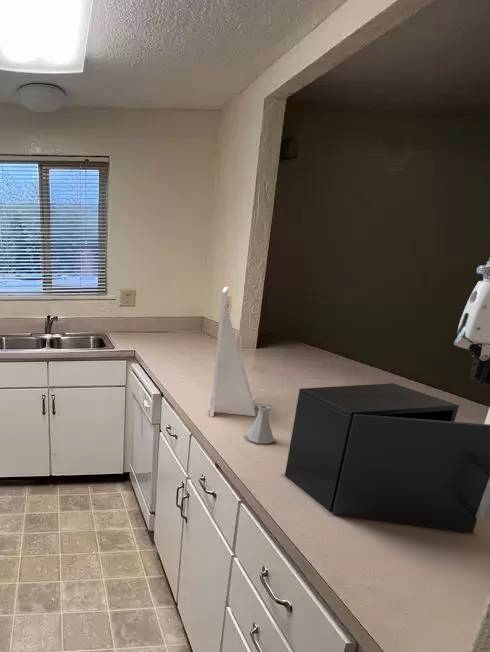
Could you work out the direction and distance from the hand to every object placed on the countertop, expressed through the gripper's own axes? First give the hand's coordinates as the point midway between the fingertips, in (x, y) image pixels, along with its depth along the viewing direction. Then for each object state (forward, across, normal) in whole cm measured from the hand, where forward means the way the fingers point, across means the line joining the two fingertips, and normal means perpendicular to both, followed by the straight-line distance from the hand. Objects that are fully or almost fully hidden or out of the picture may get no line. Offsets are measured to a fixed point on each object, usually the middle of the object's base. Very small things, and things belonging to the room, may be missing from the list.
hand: (481, 381), depth 76 cm
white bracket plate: (+29, -36, +60) cm, 76 cm away
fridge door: (+29, -7, -5) cm, 30 cm away
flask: (+29, -30, +34) cm, 54 cm away
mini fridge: (+29, -12, +11) cm, 33 cm away
